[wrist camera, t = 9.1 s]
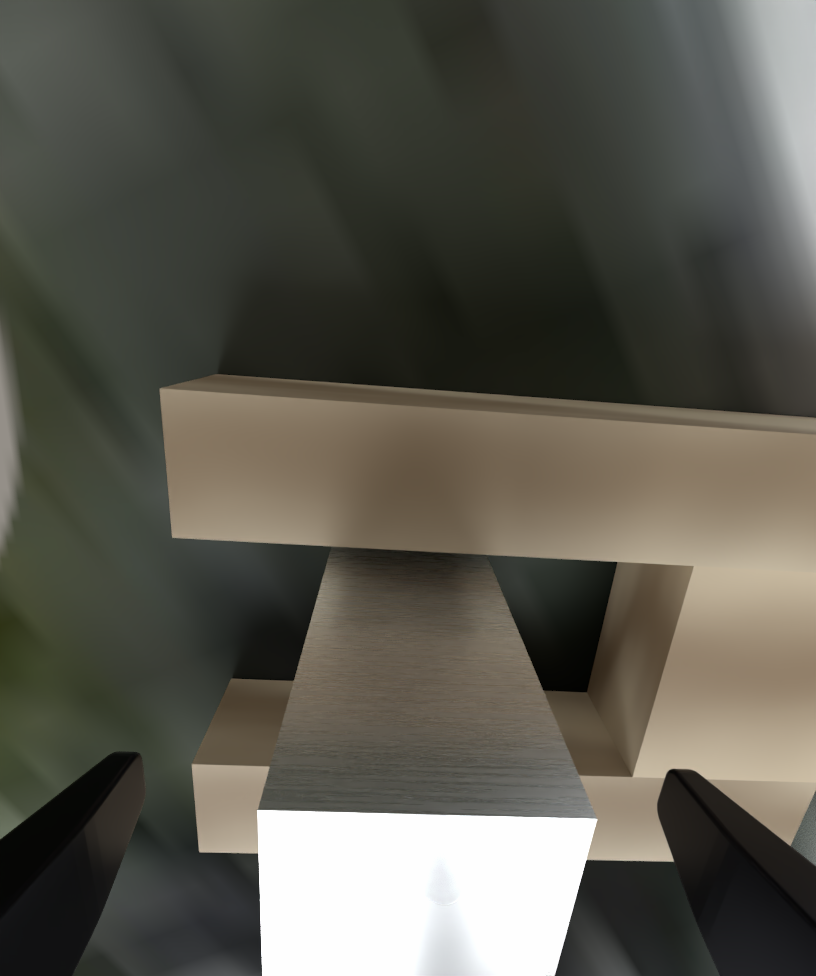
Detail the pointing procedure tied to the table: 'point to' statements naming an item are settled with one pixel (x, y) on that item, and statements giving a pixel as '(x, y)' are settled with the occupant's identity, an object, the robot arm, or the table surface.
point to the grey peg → (417, 784)
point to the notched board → (543, 534)
